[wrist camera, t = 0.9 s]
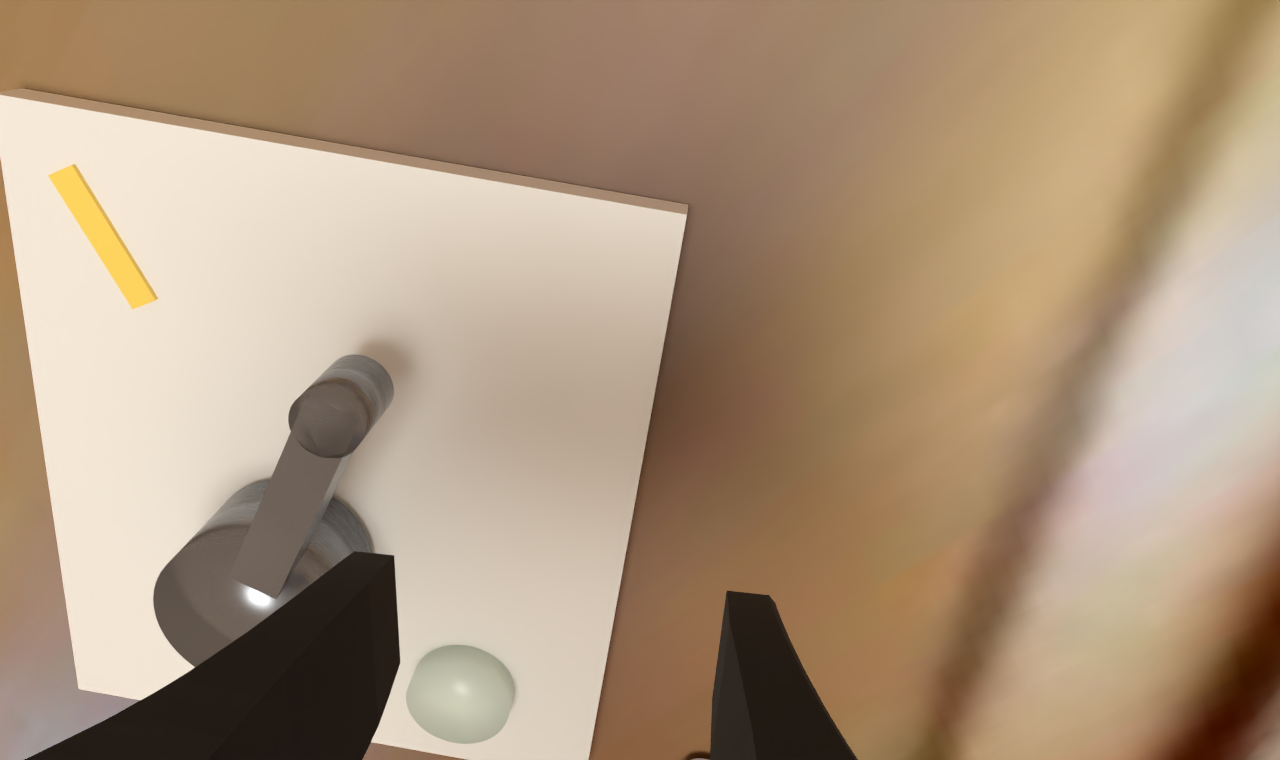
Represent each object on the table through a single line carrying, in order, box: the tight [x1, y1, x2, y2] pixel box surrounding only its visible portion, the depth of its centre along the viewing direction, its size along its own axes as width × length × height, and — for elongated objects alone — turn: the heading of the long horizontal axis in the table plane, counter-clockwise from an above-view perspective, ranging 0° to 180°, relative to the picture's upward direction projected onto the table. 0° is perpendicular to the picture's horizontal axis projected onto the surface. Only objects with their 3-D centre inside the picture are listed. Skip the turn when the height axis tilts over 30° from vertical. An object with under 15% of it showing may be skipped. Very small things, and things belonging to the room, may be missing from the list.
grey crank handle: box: [153, 354, 394, 667], centre depth 22 cm, size 10×4×3 cm, turn 151°
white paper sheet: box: [0, 88, 688, 760], centre depth 24 cm, size 18×16×2 cm
